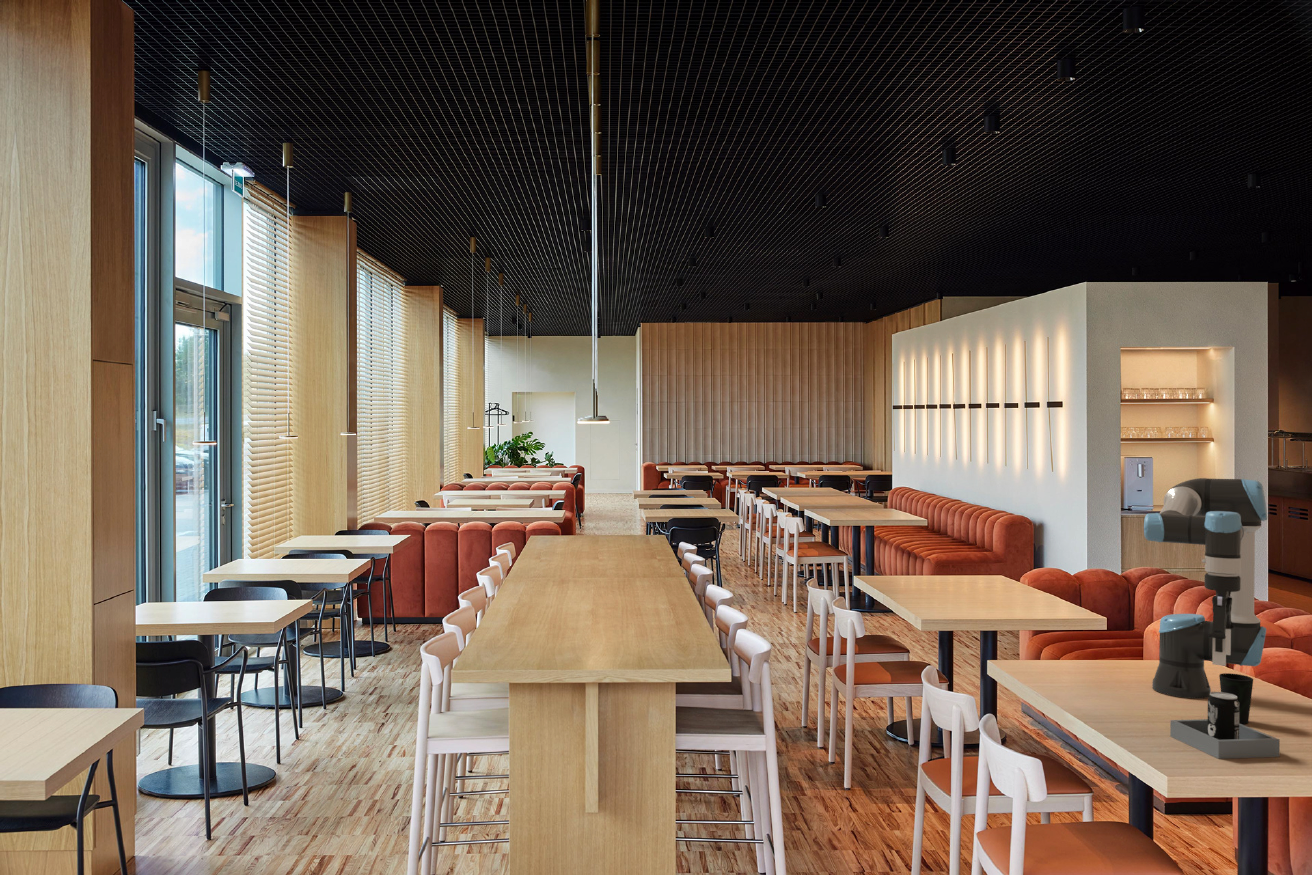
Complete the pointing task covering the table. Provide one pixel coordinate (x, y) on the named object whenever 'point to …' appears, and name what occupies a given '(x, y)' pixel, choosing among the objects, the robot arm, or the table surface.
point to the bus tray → (1244, 747)
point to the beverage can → (1223, 716)
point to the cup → (1238, 692)
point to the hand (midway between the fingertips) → (1221, 659)
